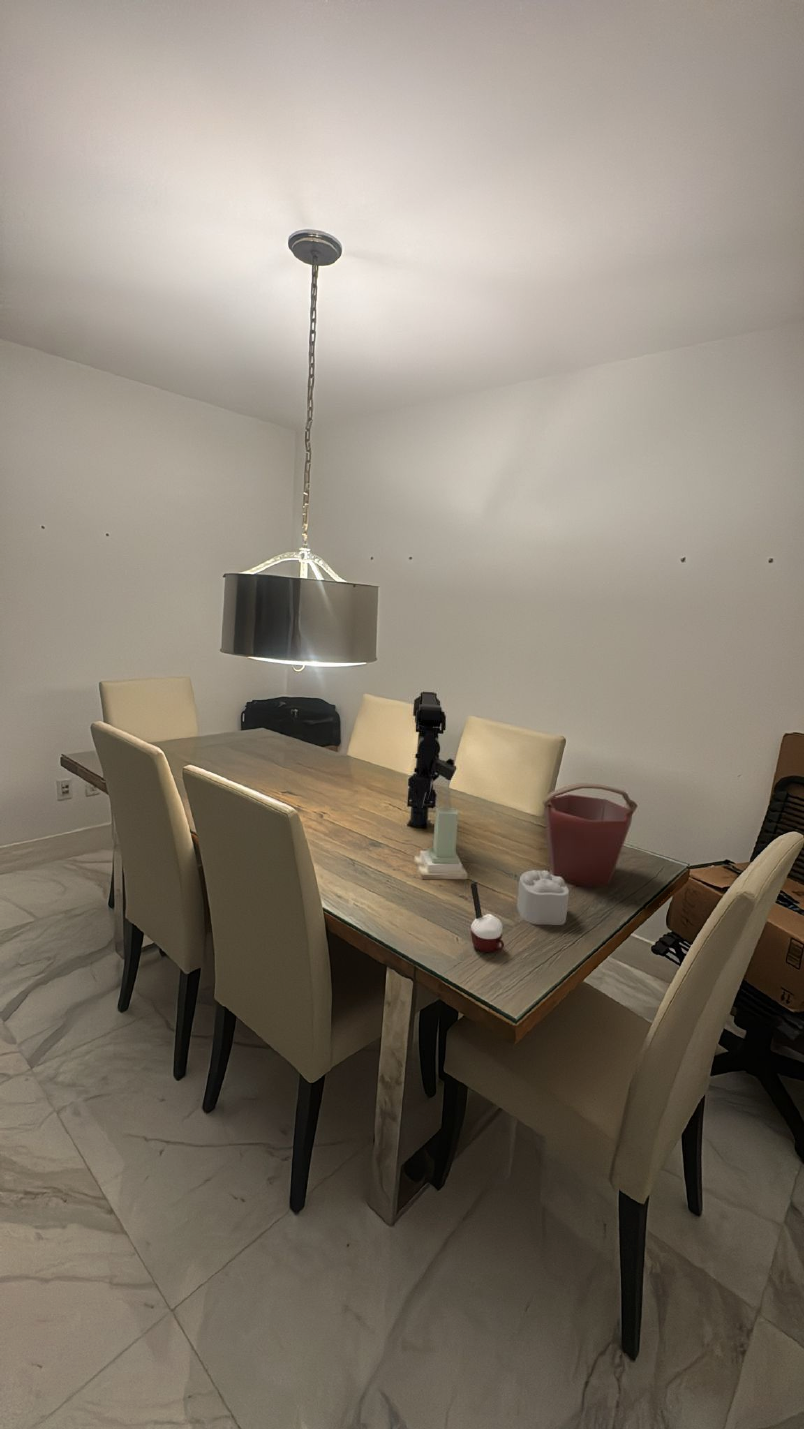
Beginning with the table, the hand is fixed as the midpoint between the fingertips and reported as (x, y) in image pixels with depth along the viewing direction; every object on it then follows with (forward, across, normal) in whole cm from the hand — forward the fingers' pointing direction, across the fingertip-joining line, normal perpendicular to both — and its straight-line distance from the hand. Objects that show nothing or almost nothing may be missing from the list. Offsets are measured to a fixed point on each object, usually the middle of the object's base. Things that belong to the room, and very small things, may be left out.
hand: (423, 803), depth 172 cm
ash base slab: (+14, -13, -8) cm, 21 cm away
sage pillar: (+10, -13, -9) cm, 18 cm away
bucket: (+13, -2, -45) cm, 47 cm away
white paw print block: (+13, -27, -34) cm, 45 cm away
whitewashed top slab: (+12, -13, -8) cm, 19 cm away
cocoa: (+13, -47, -23) cm, 54 cm away
